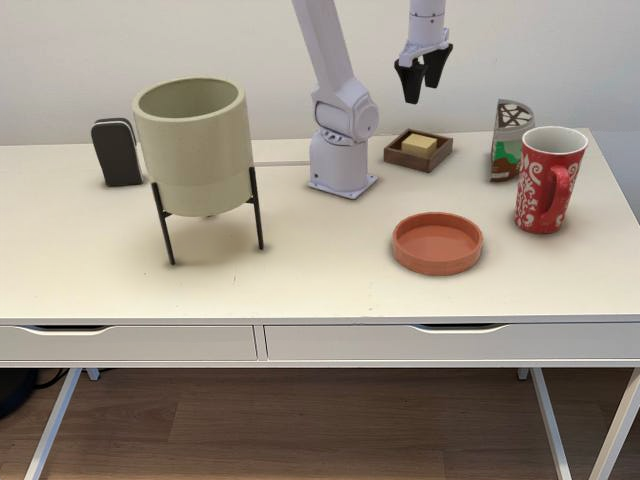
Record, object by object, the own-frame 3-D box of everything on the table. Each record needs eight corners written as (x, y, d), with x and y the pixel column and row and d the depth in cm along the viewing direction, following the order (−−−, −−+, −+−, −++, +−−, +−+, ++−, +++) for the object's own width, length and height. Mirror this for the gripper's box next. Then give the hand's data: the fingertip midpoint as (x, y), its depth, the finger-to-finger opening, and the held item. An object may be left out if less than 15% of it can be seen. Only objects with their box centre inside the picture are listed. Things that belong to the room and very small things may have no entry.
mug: (503, 206, 106) (517, 125, 97) (561, 205, 105) (581, 124, 96) (514, 251, 97) (531, 167, 88) (578, 251, 96) (601, 166, 87)
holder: (383, 161, 120) (383, 148, 118) (407, 140, 125) (408, 128, 123) (429, 173, 115) (430, 159, 114) (452, 151, 121) (453, 138, 119)
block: (401, 155, 120) (401, 142, 118) (411, 146, 122) (412, 133, 120) (426, 161, 118) (427, 148, 116) (436, 152, 120) (437, 139, 118)
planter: (253, 207, 110) (236, 66, 95) (270, 260, 99) (253, 110, 83) (163, 222, 109) (129, 81, 93) (169, 278, 97) (132, 128, 81)
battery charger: (146, 174, 121) (131, 113, 113) (143, 184, 118) (128, 123, 110) (108, 177, 121) (91, 116, 113) (104, 187, 118) (86, 126, 111)
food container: (528, 188, 110) (539, 130, 103) (490, 186, 111) (498, 129, 104) (525, 153, 119) (535, 98, 112) (490, 152, 120) (498, 97, 113)
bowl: (376, 258, 98) (376, 244, 96) (417, 217, 105) (418, 203, 104) (457, 285, 92) (459, 271, 90) (494, 240, 100) (496, 226, 98)
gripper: (428, 28, 101) (423, 114, 111) (468, 2, 110) (460, 84, 119) (388, 22, 105) (386, 106, 114) (430, -3, 113) (424, 77, 122)
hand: (421, 94), depth 117 cm, fingers open, 7 cm apart
